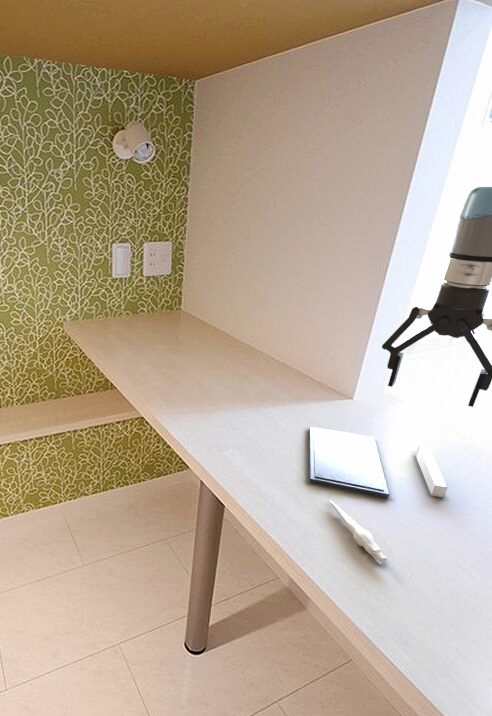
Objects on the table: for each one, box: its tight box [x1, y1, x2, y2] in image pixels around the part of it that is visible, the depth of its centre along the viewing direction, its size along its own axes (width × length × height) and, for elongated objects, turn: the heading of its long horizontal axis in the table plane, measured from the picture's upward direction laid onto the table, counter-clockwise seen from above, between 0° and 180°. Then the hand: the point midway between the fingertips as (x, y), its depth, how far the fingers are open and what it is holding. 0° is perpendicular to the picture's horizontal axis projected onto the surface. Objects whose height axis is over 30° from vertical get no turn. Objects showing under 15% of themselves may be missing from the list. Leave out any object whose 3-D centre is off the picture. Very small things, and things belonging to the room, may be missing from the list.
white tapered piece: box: [328, 499, 388, 565], centre depth 73 cm, size 15×3×2 cm, turn 11°
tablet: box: [308, 426, 390, 499], centre depth 93 cm, size 14×22×1 cm, turn 161°
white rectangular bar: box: [415, 446, 448, 498], centre depth 88 cm, size 2×16×2 cm, turn 161°
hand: (429, 393), depth 85 cm, fingers open, 13 cm apart
